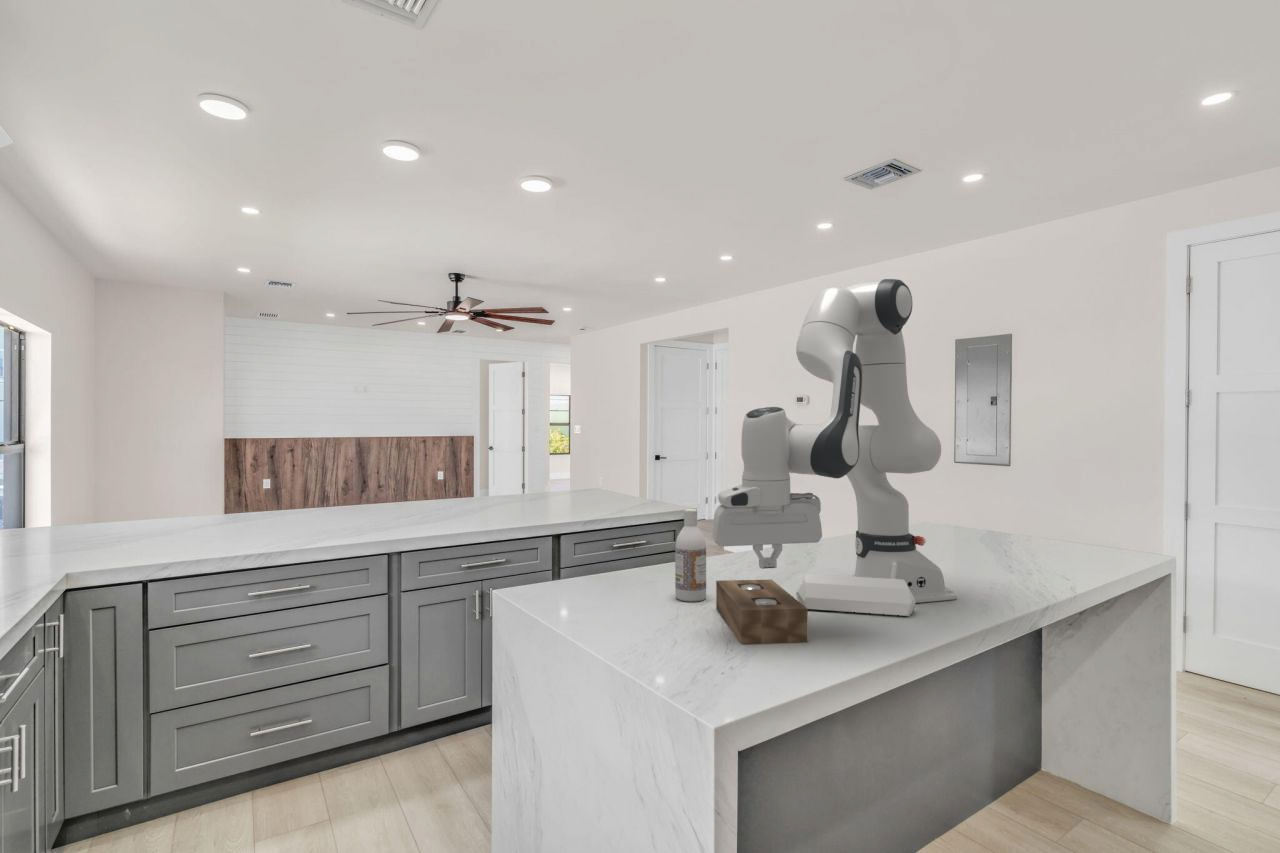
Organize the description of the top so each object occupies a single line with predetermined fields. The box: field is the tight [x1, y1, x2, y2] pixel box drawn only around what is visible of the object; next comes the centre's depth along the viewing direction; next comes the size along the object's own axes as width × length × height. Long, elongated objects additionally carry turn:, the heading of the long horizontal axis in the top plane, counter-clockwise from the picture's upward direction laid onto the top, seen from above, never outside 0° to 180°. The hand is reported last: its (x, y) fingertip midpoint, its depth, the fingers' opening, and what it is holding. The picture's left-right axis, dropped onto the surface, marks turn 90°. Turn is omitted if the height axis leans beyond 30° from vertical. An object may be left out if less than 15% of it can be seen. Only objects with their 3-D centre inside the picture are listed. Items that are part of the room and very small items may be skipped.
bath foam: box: [674, 508, 707, 603], centre depth 142 cm, size 7×7×20 cm
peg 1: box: [741, 584, 761, 590], centre depth 129 cm, size 4×4×6 cm
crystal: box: [795, 573, 916, 617], centre depth 133 cm, size 7×7×24 cm
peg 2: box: [755, 599, 777, 605], centre depth 118 cm, size 4×4×6 cm
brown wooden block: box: [715, 579, 808, 645], centre depth 123 cm, size 12×22×6 cm, turn 5°
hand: (767, 567), depth 118 cm, fingers closed
